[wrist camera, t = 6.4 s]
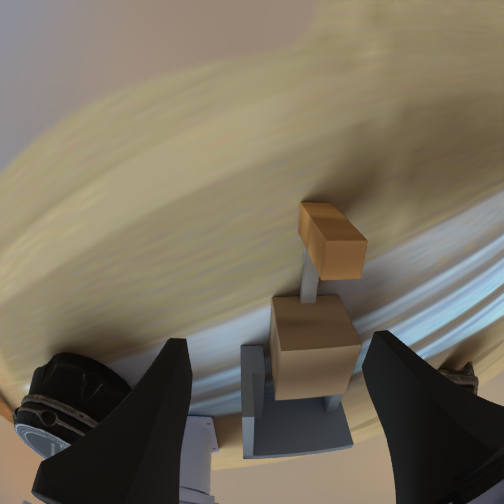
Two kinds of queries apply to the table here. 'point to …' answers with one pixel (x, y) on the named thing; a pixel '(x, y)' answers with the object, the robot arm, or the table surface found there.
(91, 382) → the container
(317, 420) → the grey u-shaped cradle
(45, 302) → the table surface
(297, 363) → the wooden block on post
